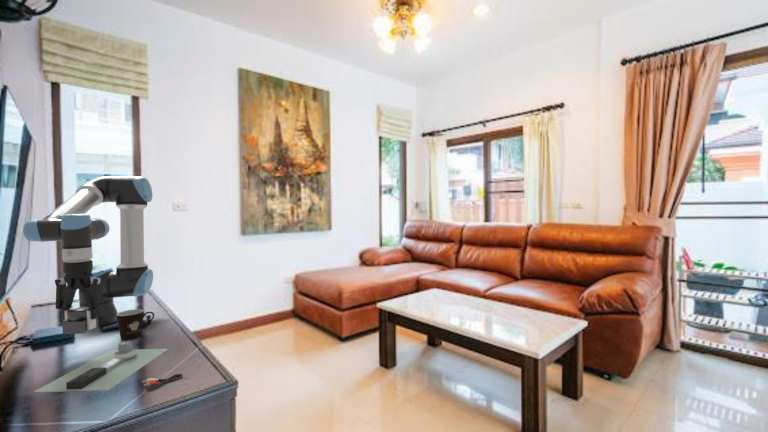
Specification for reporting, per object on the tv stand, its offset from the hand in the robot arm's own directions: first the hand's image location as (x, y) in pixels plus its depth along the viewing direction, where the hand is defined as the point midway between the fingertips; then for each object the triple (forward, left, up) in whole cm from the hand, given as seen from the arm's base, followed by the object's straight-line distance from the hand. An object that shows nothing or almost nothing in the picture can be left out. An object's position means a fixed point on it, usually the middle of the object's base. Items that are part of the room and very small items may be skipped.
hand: (80, 328), depth 118 cm
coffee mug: (-18, +6, -10) cm, 21 cm away
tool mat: (+9, +16, -10) cm, 21 cm away
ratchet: (+11, +16, -9) cm, 22 cm away
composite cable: (+20, +39, -10) cm, 44 cm away
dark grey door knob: (0, 0, 0) cm, 0 cm away
